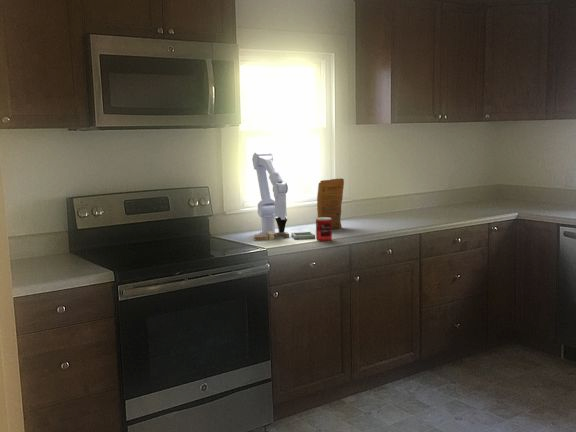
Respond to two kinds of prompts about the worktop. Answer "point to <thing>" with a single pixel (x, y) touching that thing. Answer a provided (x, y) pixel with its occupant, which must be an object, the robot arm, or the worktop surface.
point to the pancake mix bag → (330, 200)
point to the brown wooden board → (260, 237)
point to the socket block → (281, 235)
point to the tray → (303, 235)
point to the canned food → (324, 229)
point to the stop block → (271, 235)
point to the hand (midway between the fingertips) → (281, 231)
